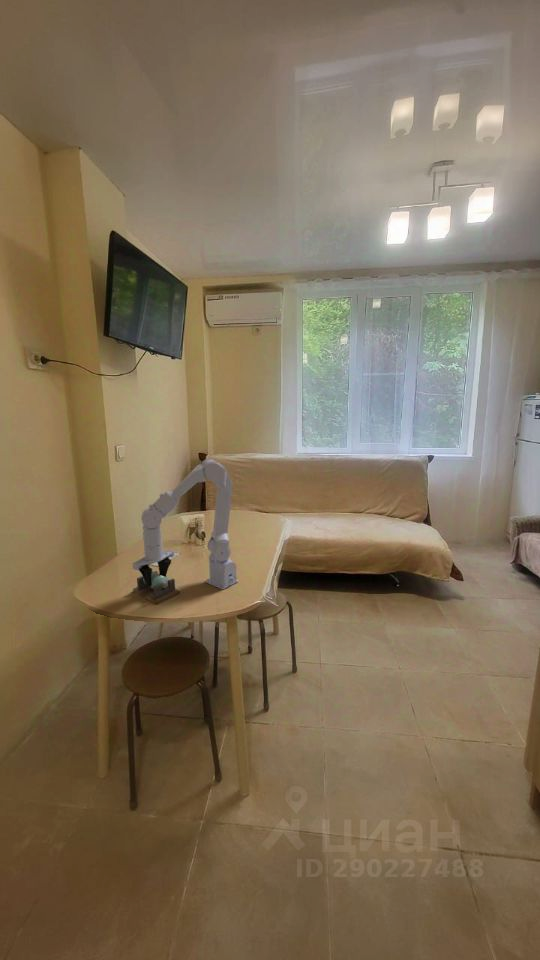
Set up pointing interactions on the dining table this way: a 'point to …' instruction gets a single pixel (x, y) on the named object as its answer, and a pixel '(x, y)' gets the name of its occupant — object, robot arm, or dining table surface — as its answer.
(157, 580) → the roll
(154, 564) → the smartphone
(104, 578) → the dining table surface
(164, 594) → the holder
